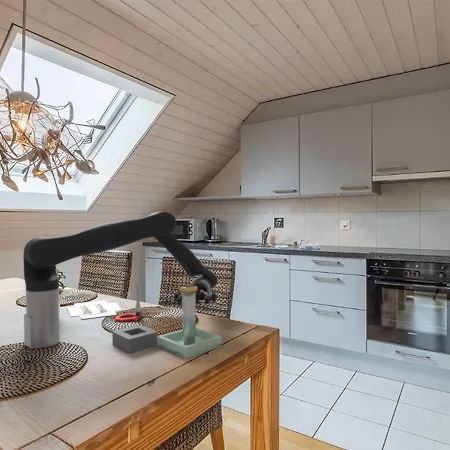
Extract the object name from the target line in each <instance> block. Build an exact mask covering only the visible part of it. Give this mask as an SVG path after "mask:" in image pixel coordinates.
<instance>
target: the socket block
mask: <svg viewBox="0 0 450 450" xmlns="http://www.w3.org/2000/svg"><path fill="white" fill-rule="evenodd" d="M157 336H159V331H157V330H155V329H152V328H150V327H148V326H145V325H142V324H139V325H134V326H131V327H126V328H122V329H118V330H114V331H112V336H111V337H112V346H115V347H116V348H119V349H121V350H122V351H124V352H126V353H128V354H131V353H134V352H137V351H141V350H143V349H144V350H145V349H148V348H151V347H154V346H157Z"/></svg>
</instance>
